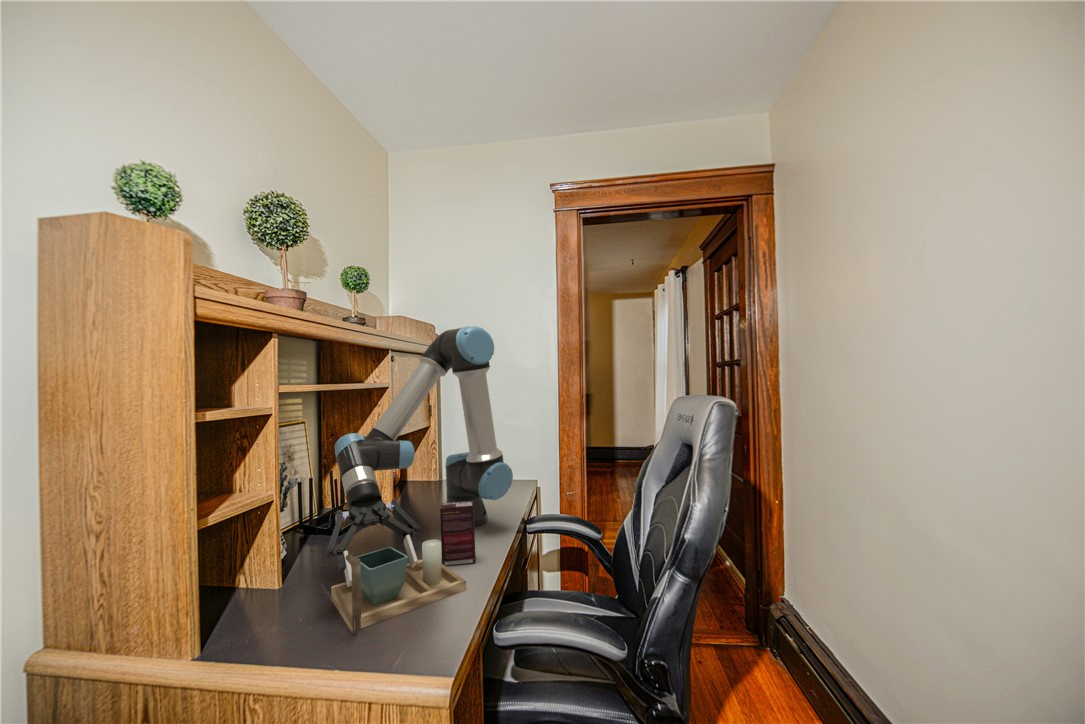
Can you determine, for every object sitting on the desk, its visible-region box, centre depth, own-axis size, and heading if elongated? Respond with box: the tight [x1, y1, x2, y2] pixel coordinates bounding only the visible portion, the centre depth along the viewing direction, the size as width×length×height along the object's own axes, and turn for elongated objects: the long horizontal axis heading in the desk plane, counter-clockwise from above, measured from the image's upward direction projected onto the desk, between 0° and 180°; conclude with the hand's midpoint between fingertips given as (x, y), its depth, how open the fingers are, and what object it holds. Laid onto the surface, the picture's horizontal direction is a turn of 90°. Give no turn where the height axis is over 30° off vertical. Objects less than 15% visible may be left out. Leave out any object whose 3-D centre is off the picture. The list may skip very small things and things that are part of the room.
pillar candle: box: [421, 539, 442, 586], centre depth 104 cm, size 4×4×9 cm
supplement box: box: [439, 501, 477, 568], centre depth 115 cm, size 9×5×16 cm, turn 98°
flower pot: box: [354, 546, 409, 605], centre depth 97 cm, size 9×9×9 cm
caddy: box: [330, 553, 467, 637], centre depth 99 cm, size 24×18×14 cm
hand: (384, 573), depth 95 cm, fingers open, 13 cm apart
